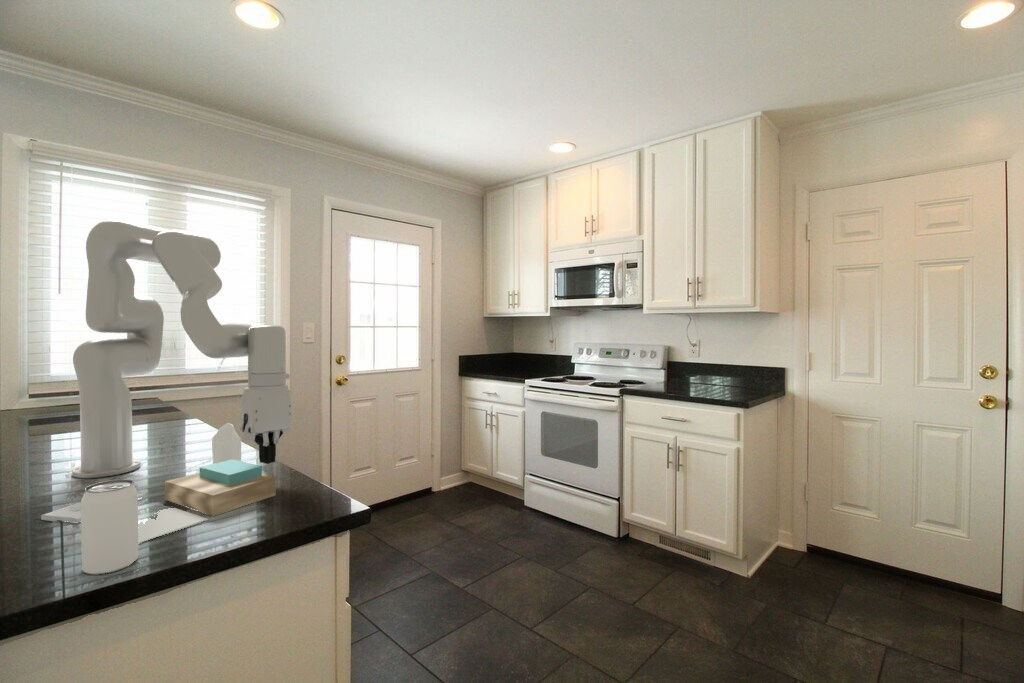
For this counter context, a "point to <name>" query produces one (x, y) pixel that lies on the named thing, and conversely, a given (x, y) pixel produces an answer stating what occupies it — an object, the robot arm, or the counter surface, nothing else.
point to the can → (109, 526)
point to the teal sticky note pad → (230, 471)
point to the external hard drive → (67, 513)
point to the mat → (167, 523)
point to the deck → (218, 493)
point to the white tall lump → (226, 444)
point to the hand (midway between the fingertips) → (267, 461)
